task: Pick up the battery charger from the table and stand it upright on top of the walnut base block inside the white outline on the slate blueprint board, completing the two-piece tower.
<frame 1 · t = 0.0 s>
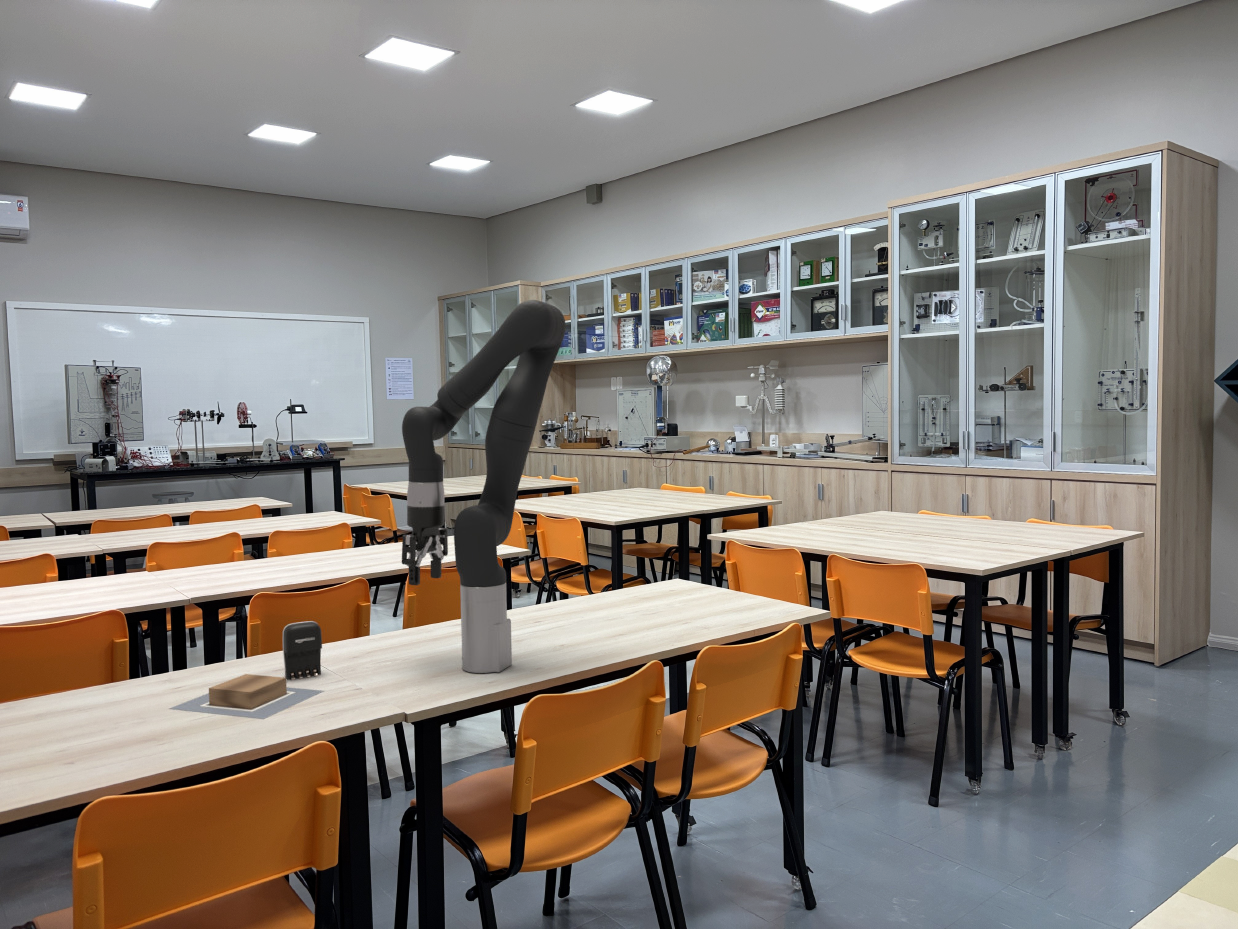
hand: (425, 581, 180), 17 cm above the table, tool pointing down, fingers open, 8 cm apart
battery charger: (304, 682, 169), on the table
base block: (248, 699, 155), point 1 cm above the table, touching blueprint board
blueprint board: (248, 705, 155), on the table
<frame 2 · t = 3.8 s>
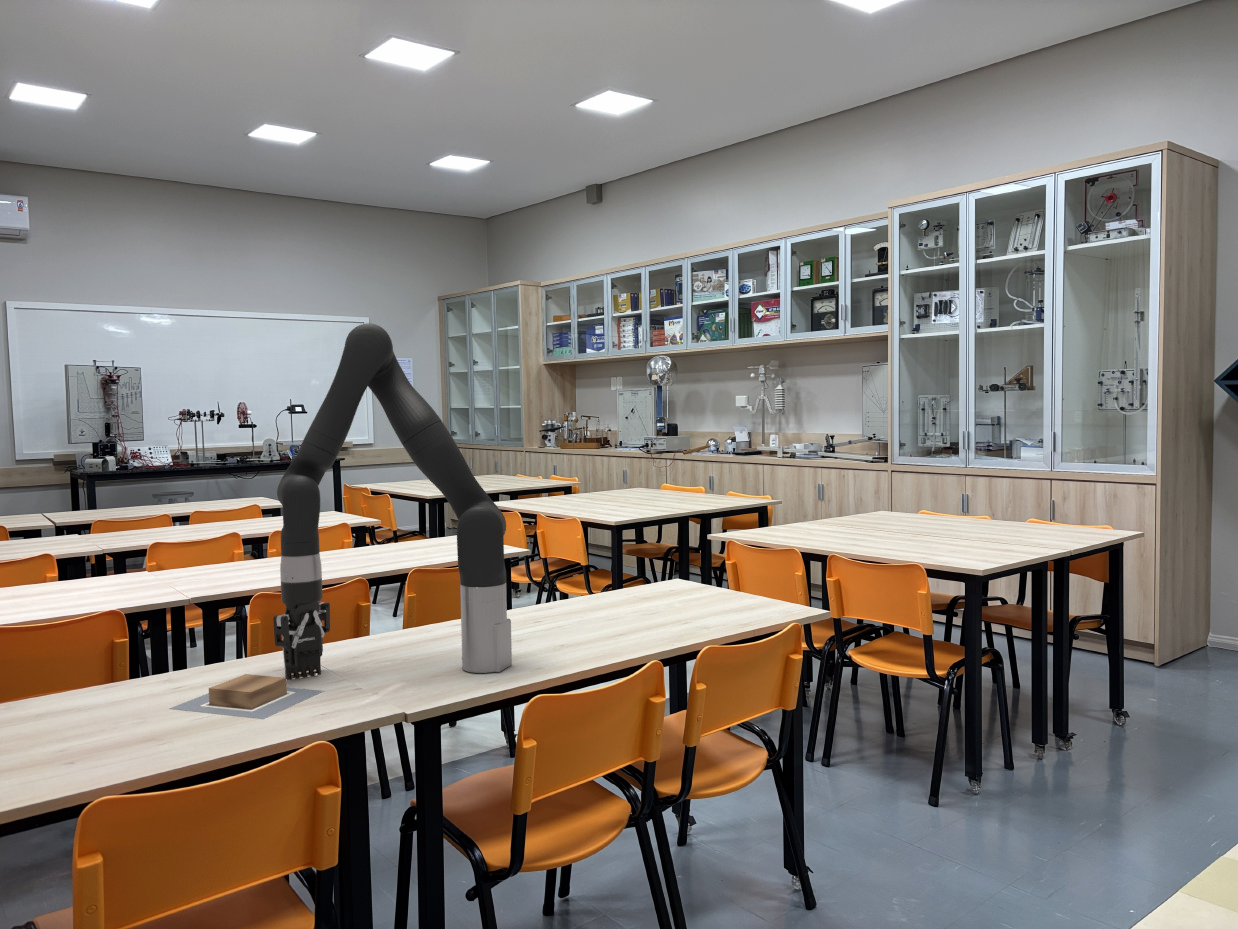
hand: (304, 661, 169), 4 cm above the table, tool pointing down, fingers closed on battery charger, 7 cm apart
battery charger: (304, 682, 169), on the table, touching gripper
everything else where it was.
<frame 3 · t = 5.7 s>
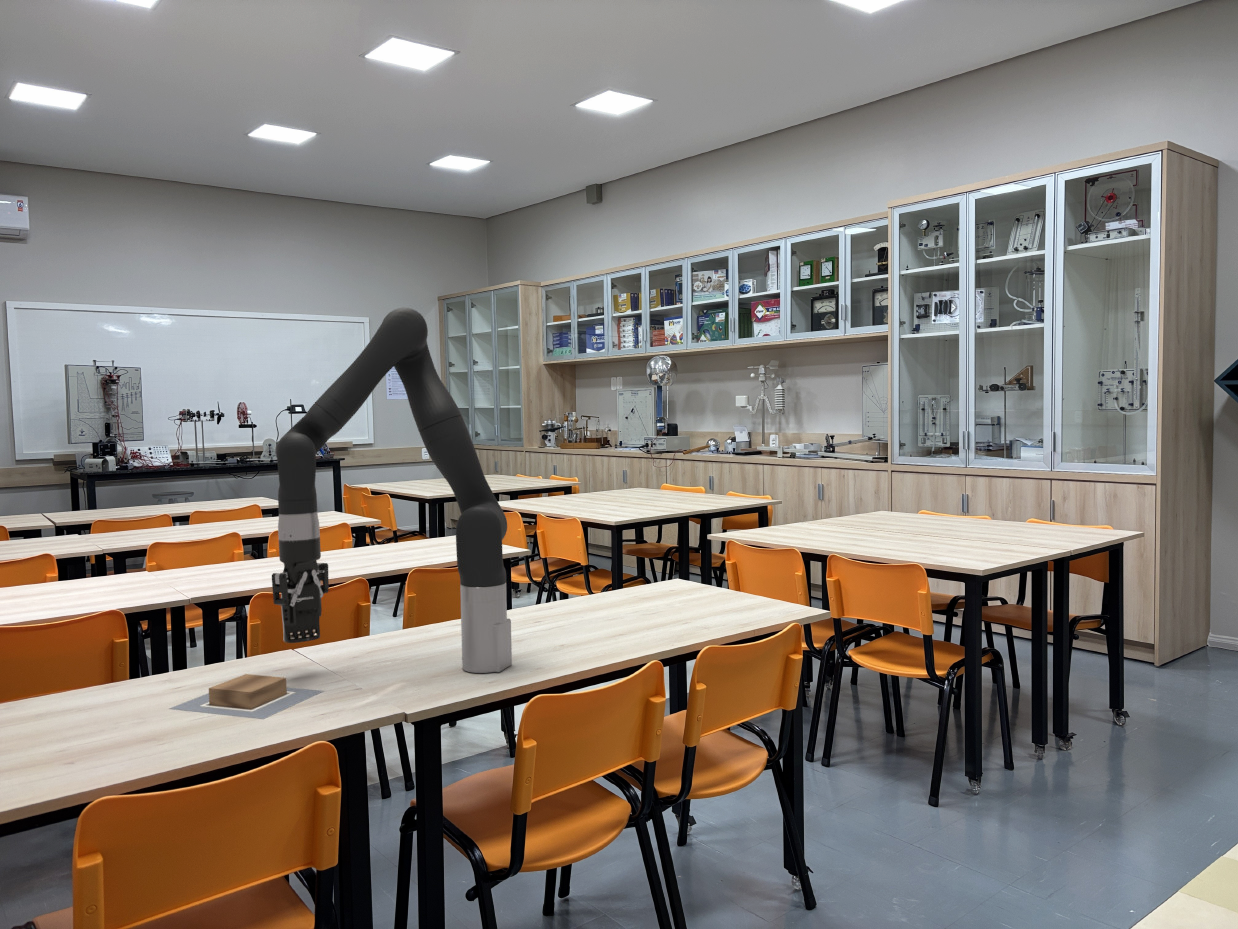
hand: (303, 621, 168), 12 cm above the table, tool pointing down, fingers closed on battery charger, 7 cm apart
battery charger: (303, 642, 168), point 8 cm above the table, touching gripper
everything else where it was.
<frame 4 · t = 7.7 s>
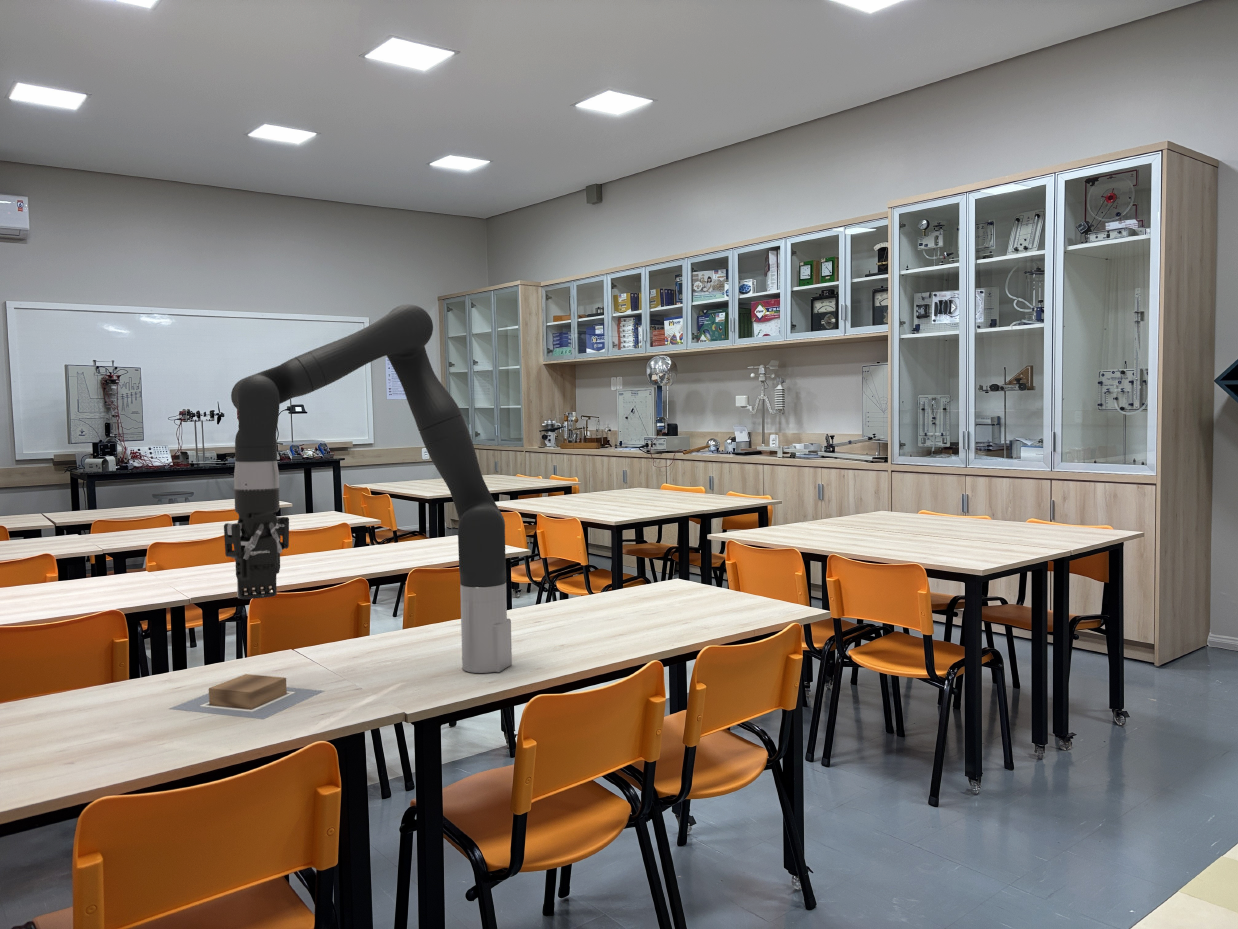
hand: (258, 576, 158), 22 cm above the table, tool pointing down, fingers closed on battery charger, 7 cm apart
battery charger: (258, 599, 158), point 18 cm above the table, touching gripper
everything else where it was.
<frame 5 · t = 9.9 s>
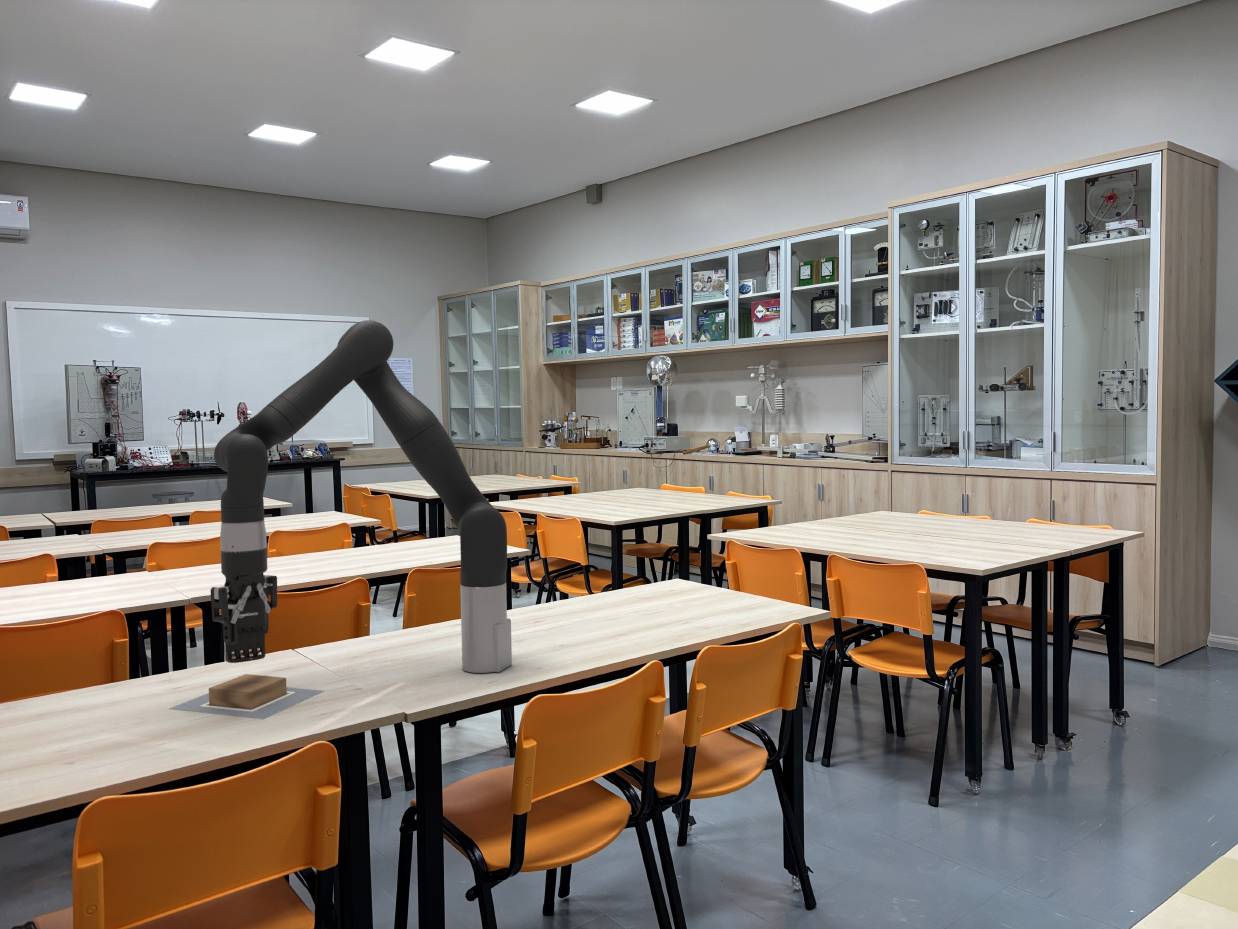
hand: (247, 639, 154), 12 cm above the table, tool pointing down, fingers closed on battery charger, 7 cm apart
battery charger: (246, 661, 154), point 8 cm above the table, touching gripper
everything else where it was.
when the fingers open (9 cm above the table, at t = 11.5 s): battery charger drops 1 cm, resting on base block.
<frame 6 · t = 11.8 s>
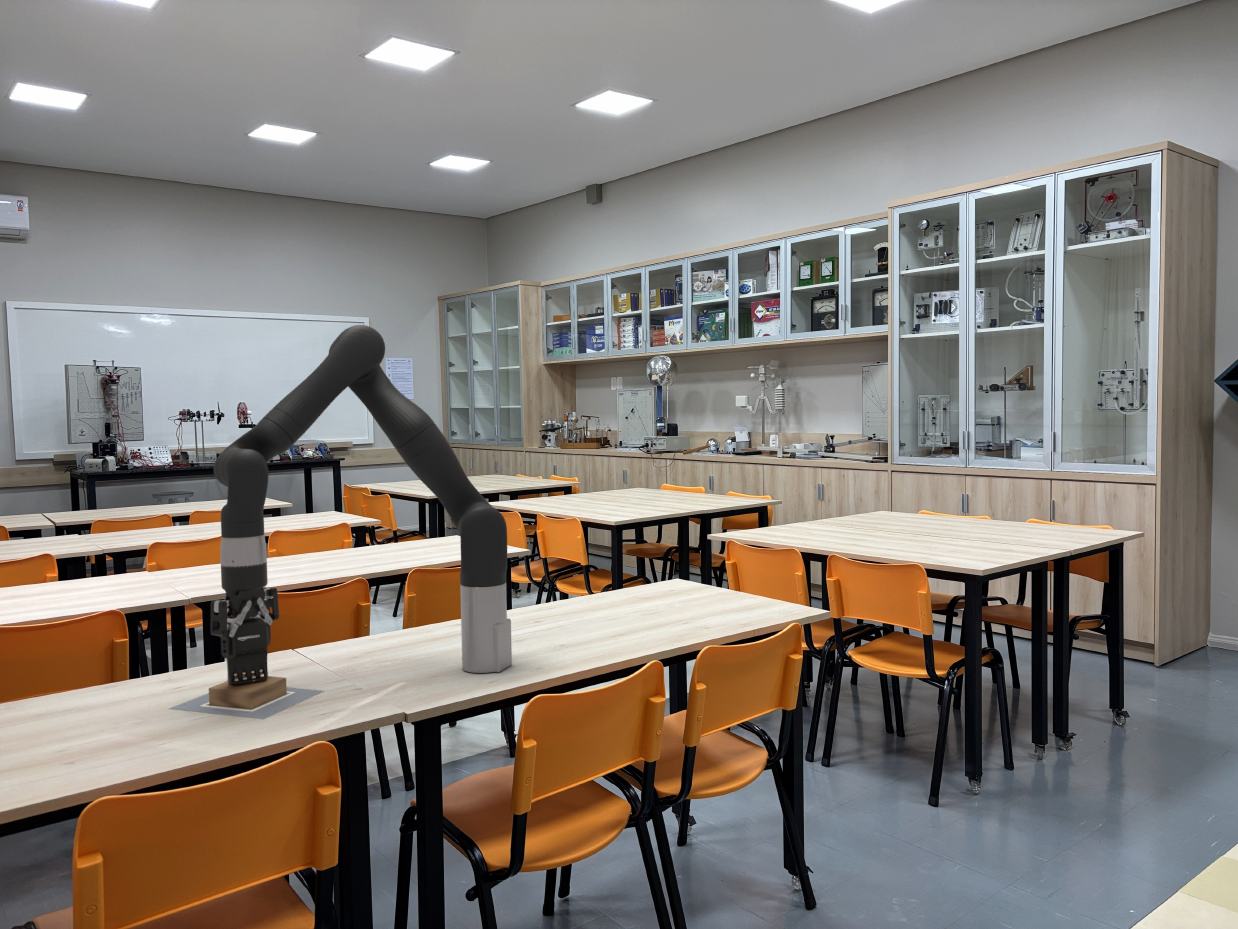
hand: (247, 651, 154), 10 cm above the table, tool pointing down, fingers open, 8 cm apart
battery charger: (248, 683, 155), point 4 cm above the table, touching base block
base block: (248, 699, 155), point 1 cm above the table, touching battery charger, blueprint board
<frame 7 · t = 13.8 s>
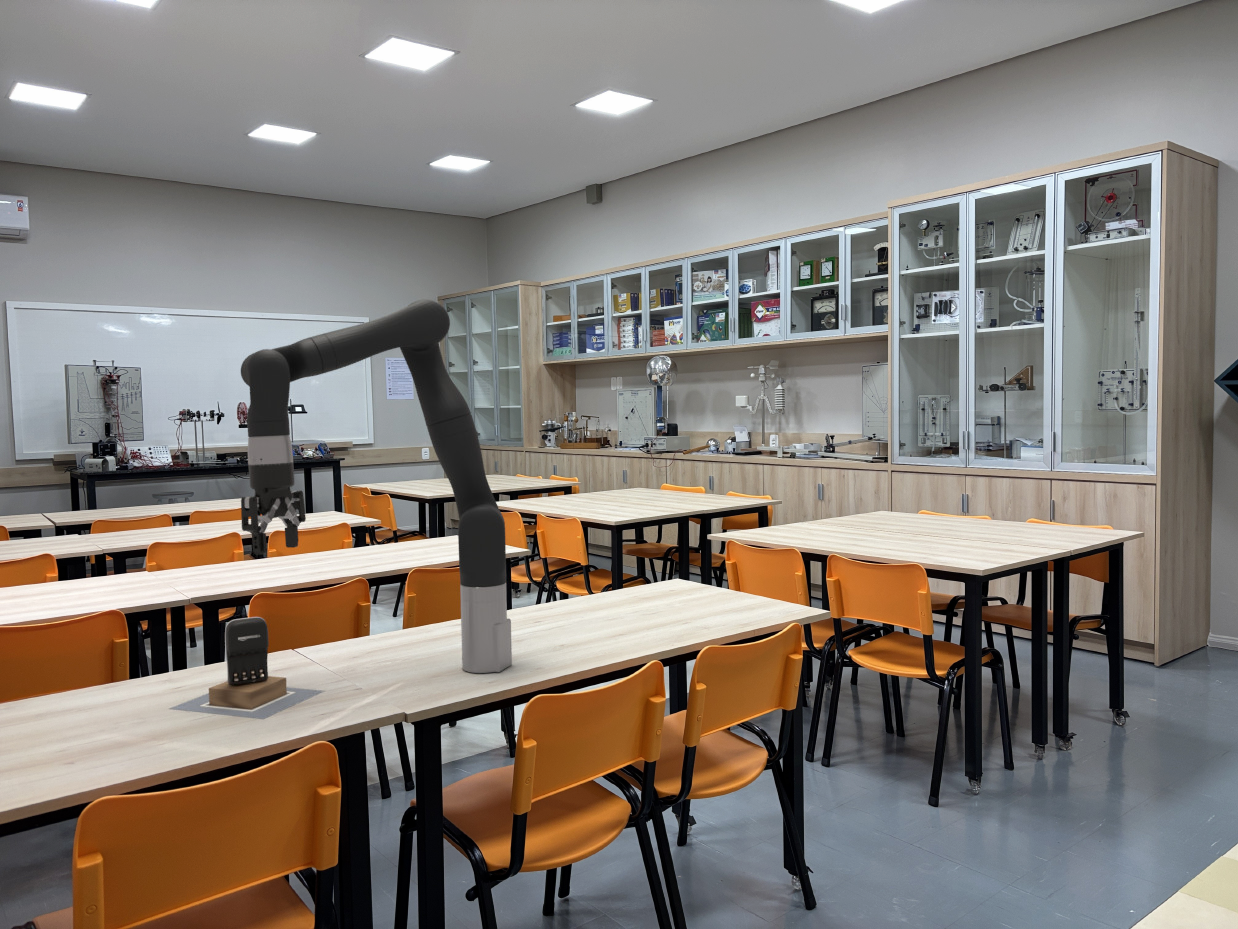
hand: (276, 550, 157), 27 cm above the table, tool pointing down, fingers open, 8 cm apart
nothing on the table moved.
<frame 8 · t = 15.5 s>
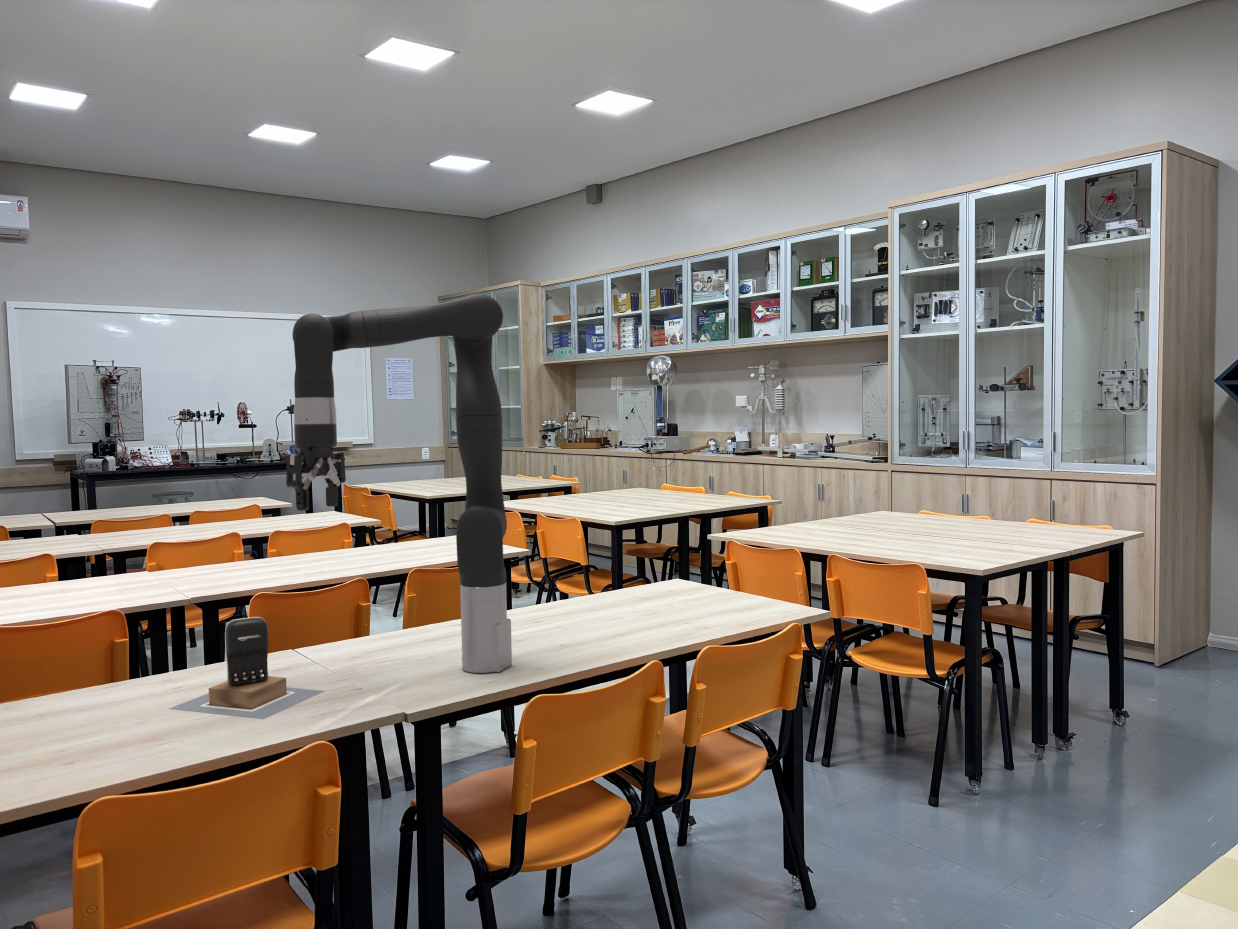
hand: (318, 508, 164), 34 cm above the table, tool pointing down, fingers open, 8 cm apart
nothing on the table moved.
at the end: battery charger 0.1 cm off-centre on the base block, point 2.8 cm above the base block's base; battery charger tilted 0°; the gripper is holding nothing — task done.
